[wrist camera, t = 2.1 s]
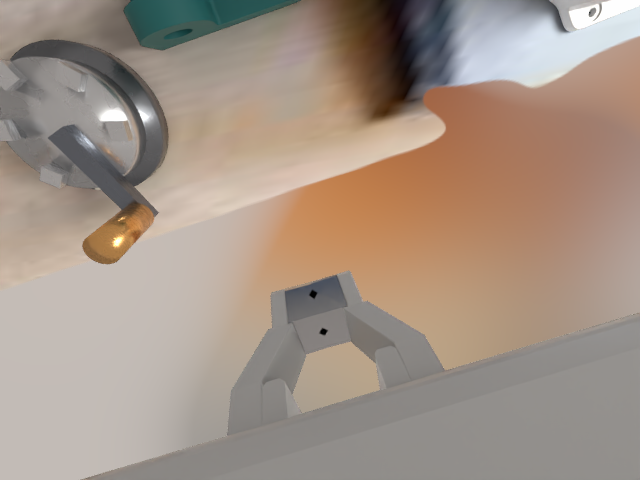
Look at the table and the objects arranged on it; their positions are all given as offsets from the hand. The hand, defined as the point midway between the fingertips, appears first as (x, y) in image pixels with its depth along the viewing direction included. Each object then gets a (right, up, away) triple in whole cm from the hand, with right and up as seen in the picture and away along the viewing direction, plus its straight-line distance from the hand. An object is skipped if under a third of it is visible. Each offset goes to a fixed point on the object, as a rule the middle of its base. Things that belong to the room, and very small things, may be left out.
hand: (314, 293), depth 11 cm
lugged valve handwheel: (-24, +12, +21) cm, 34 cm away
